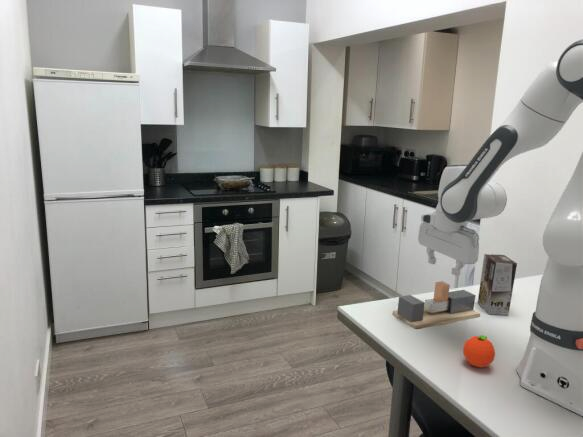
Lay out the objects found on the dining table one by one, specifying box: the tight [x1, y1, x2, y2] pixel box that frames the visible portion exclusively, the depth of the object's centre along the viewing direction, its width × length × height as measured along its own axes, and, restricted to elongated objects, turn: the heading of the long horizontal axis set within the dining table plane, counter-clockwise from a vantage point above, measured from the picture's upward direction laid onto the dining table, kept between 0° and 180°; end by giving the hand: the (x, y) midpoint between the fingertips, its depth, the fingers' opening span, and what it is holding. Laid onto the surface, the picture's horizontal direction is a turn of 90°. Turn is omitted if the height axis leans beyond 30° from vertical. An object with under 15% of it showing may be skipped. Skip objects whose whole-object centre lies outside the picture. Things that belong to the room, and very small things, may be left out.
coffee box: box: [477, 253, 518, 316], centre depth 143 cm, size 9×6×16 cm
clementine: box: [462, 334, 496, 368], centre depth 110 cm, size 8×7×7 cm
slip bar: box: [424, 280, 451, 313], centre depth 138 cm, size 3×15×8 cm, turn 116°
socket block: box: [397, 294, 425, 322], centre depth 132 cm, size 6×4×5 cm, turn 26°
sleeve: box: [445, 289, 476, 314], centre depth 140 cm, size 5×9×5 cm, turn 116°
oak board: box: [392, 309, 482, 330], centre depth 137 cm, size 10×24×1 cm, turn 116°
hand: (443, 268), depth 135 cm, fingers open, 8 cm apart
